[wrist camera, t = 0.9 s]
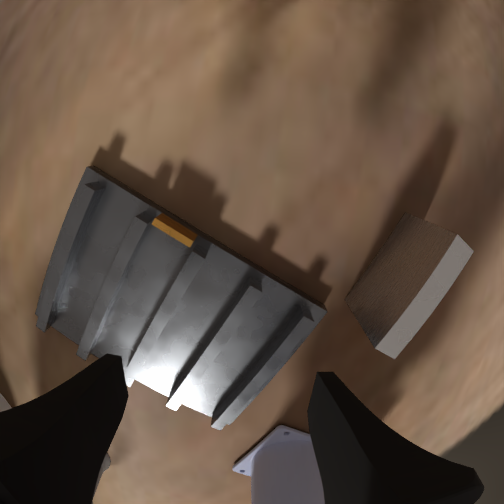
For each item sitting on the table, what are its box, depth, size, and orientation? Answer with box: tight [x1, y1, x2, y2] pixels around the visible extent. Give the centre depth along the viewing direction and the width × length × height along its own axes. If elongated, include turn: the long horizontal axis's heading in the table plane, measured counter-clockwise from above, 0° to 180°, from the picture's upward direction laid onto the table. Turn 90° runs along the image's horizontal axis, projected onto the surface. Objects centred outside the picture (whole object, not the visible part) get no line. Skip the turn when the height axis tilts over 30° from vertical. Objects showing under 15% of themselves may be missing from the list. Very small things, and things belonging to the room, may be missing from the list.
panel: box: [344, 212, 474, 359], centre depth 17 cm, size 2×7×6 cm, turn 148°
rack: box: [35, 166, 327, 430], centre depth 19 cm, size 17×12×2 cm
